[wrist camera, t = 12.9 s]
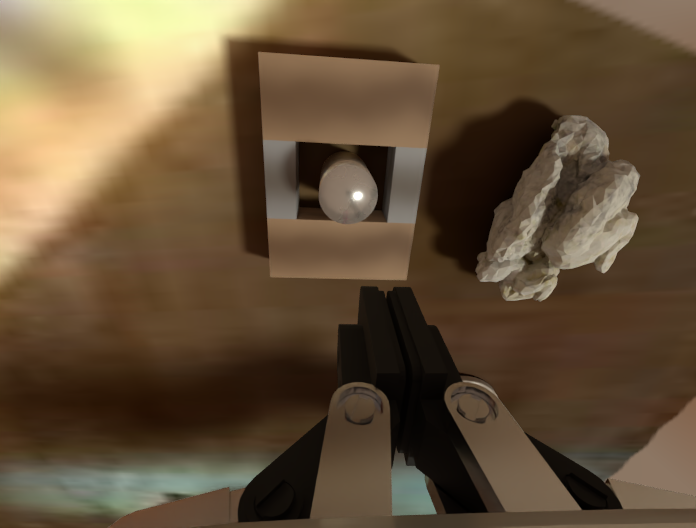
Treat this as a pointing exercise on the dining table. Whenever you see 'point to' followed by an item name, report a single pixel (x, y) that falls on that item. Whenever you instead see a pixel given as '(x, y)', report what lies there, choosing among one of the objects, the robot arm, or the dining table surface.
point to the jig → (343, 128)
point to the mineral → (561, 213)
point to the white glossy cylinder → (346, 188)
